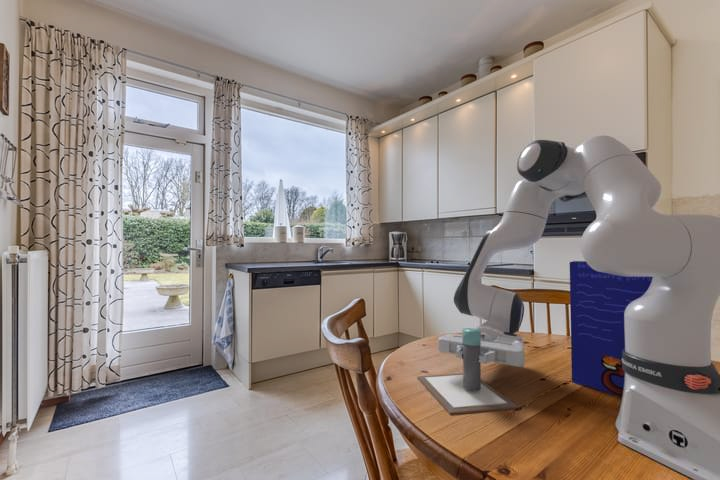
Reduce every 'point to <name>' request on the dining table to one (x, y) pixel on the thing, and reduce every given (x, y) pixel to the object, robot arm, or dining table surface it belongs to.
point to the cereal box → (600, 325)
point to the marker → (471, 358)
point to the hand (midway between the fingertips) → (470, 357)
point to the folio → (464, 395)
